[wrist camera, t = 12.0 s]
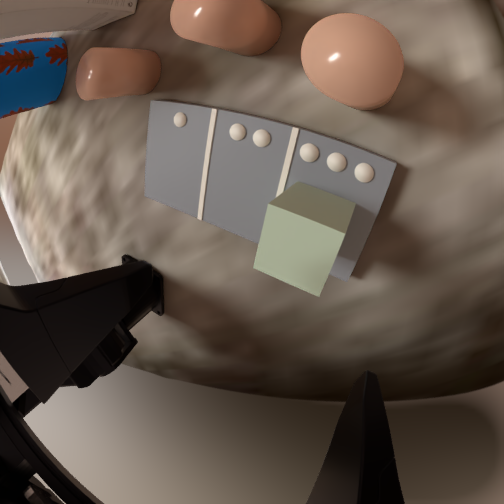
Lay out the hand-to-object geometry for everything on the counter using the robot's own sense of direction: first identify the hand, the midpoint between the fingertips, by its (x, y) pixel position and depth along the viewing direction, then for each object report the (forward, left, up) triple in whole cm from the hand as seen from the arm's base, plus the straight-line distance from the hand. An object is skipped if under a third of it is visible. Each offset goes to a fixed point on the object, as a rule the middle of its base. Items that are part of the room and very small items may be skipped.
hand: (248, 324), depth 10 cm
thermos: (+10, +39, -12) cm, 42 cm away
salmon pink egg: (+12, +8, -12) cm, 18 cm away
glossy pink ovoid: (+8, +18, -12) cm, 23 cm away
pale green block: (0, 0, -11) cm, 11 cm away
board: (+1, +6, -12) cm, 13 cm away
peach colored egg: (+10, 0, -12) cm, 15 cm away
